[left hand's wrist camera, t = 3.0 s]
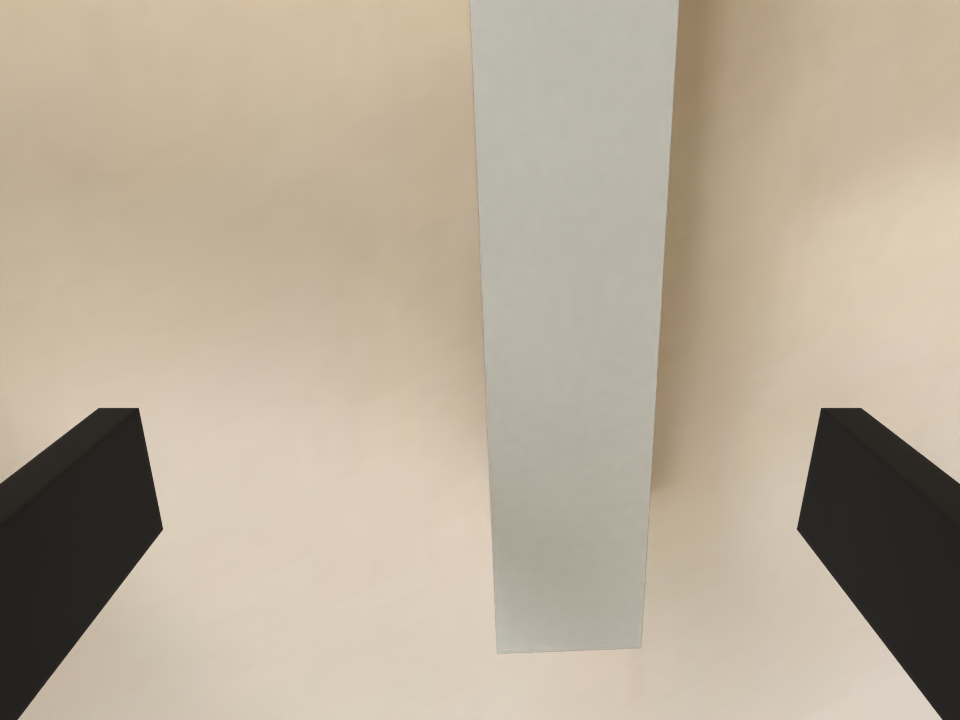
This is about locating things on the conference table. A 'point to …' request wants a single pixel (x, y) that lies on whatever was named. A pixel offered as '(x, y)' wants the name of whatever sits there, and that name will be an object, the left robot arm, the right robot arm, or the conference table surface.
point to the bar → (571, 305)
